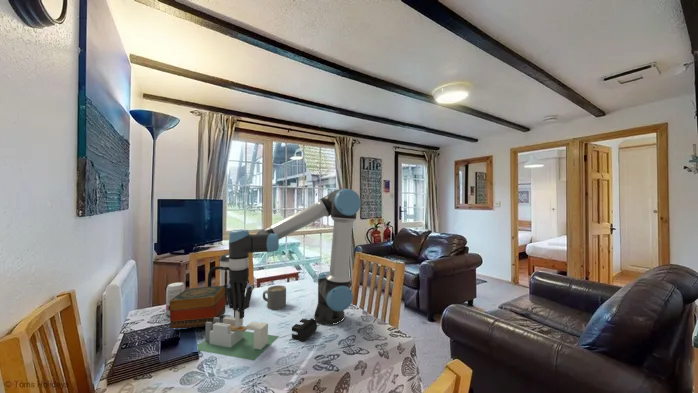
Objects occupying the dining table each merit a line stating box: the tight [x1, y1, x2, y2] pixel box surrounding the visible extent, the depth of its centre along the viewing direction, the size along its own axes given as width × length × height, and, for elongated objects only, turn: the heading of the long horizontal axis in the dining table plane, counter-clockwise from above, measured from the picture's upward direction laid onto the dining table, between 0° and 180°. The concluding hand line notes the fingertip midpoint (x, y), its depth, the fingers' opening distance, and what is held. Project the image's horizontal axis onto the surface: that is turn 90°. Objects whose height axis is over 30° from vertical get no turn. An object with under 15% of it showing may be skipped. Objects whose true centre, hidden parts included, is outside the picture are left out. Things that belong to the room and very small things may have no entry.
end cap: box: [291, 318, 318, 343], centre depth 118 cm, size 10×7×7 cm
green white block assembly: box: [196, 316, 280, 361], centre depth 112 cm, size 28×18×9 cm, turn 75°
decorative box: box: [169, 285, 226, 329], centre depth 132 cm, size 20×22×16 cm
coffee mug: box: [262, 284, 287, 311], centre depth 154 cm, size 13×10×10 cm
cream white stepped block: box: [245, 321, 269, 350], centre depth 110 cm, size 7×5×8 cm
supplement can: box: [165, 281, 186, 317], centre depth 143 cm, size 8×8×15 cm
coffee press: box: [207, 252, 230, 306], centre depth 160 cm, size 17×16×30 cm
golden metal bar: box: [212, 322, 248, 331], centre depth 113 cm, size 17×3×1 cm, turn 75°
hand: (239, 325), depth 112 cm, fingers closed
